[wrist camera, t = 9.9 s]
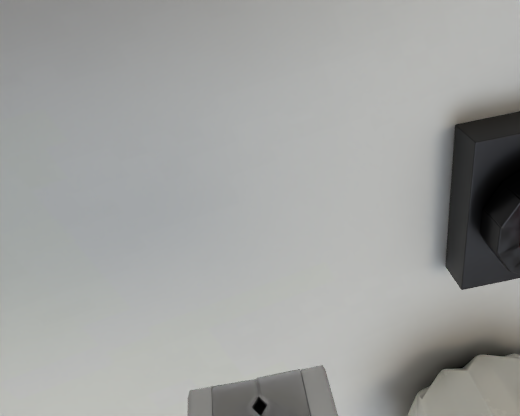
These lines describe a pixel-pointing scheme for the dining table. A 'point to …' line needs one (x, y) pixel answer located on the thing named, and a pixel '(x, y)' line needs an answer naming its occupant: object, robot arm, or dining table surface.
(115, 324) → the dining table surface
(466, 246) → the control block
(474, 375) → the vase
